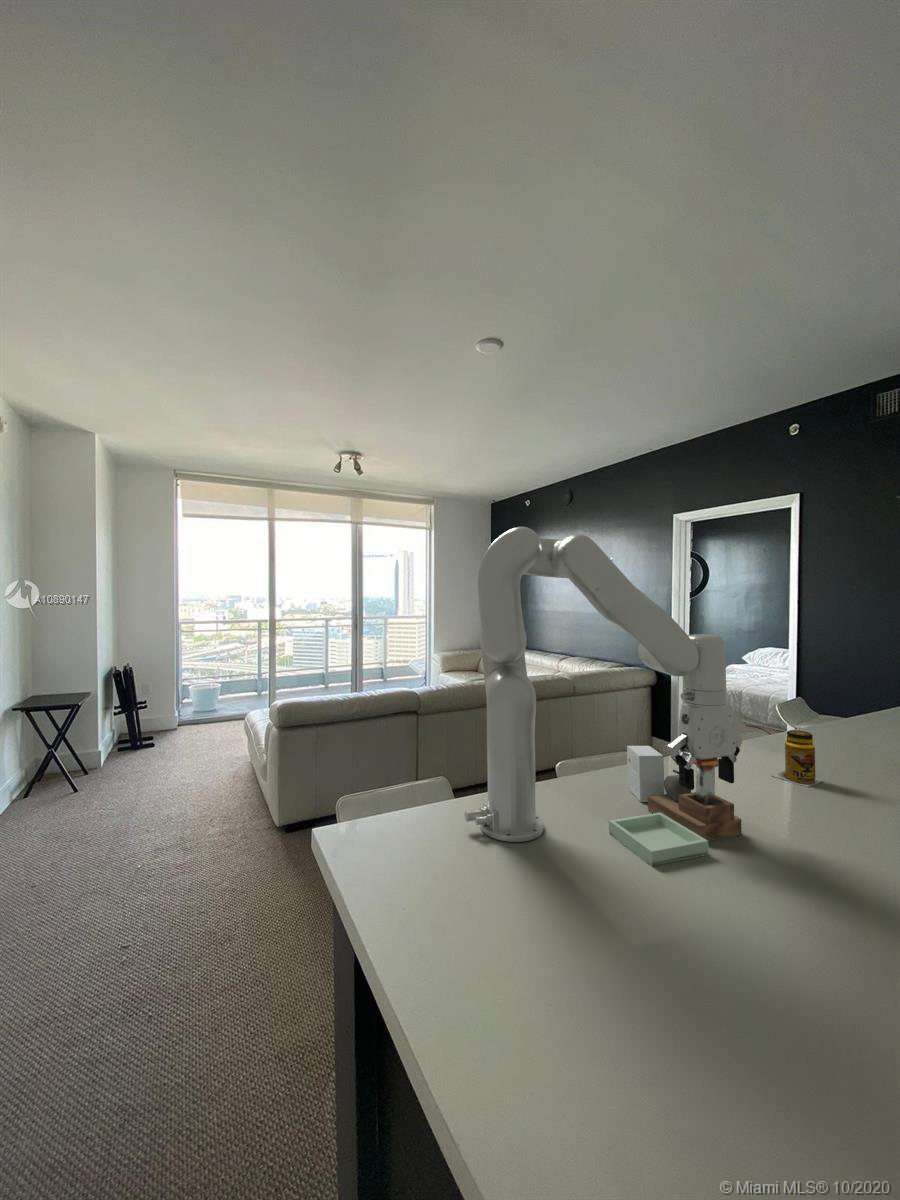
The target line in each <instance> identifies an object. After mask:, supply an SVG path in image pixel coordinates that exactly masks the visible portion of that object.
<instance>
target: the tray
mask: <svg viewBox="0 0 900 1200" xmlns="http://www.w3.org/2000/svg"><path fill="white" fill-rule="evenodd" d="M608 835H610V836H611V837H613V838H614V839H615V840H617V841H618V842H619V843H620V844H622V845H623V846H625V847H626V848H627V849H628V850H630V851H631V852H632V853H633V854H635V855H636V856H638V857H639V858H640V859H642V860H643V861H644V862H645V863H647V864H648V865H649V866H651V867H655V866H656V867H657V866H661V865H665V864H669V863H675V862H680V861H686V860H690V859H689V858H691V859H694V858H693V857H696V858H698V857H697V856H701V857H703V856H702V855H706V856H708V855H709V841H708V840H706V839H704V838H703V837H701V836H699V835H697V834H696V833H694V832H692V831H691V830H689V829H687V828H686V827H684V826H682V825H681V824H679V823H677V822H676V821H674V820H672V819H671V818H669V817H667V816H665V815H664V814H662V813H660V812H659V813H653V814H652V813H647V814H642V815H635V816H630V817H629V816H627V817H623V818H617V819H611V820H608ZM707 854H708V855H707ZM685 859H686V860H685Z"/></svg>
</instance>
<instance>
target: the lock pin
mask: <svg viewBox="0 0 900 1200" xmlns="http://www.w3.org/2000/svg"><path fill="white" fill-rule="evenodd" d="M718 759H719V758H712V759H704V760H700V759H697V758H696V760H695V761H694V763H693V765H695V778H696V780H695V784H696V785H695V786H696V790H695V792H696V799H697V802H699V803H701V804H703V805H705V806H708V805H714V804H715V795H716V792H715V791H716V787H715V786H716V784H715V783H716V782H715V781H716V779H715V778H716V776H715V775H716V774H715V772H716V771H715V769H716V768H718Z"/></svg>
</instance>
